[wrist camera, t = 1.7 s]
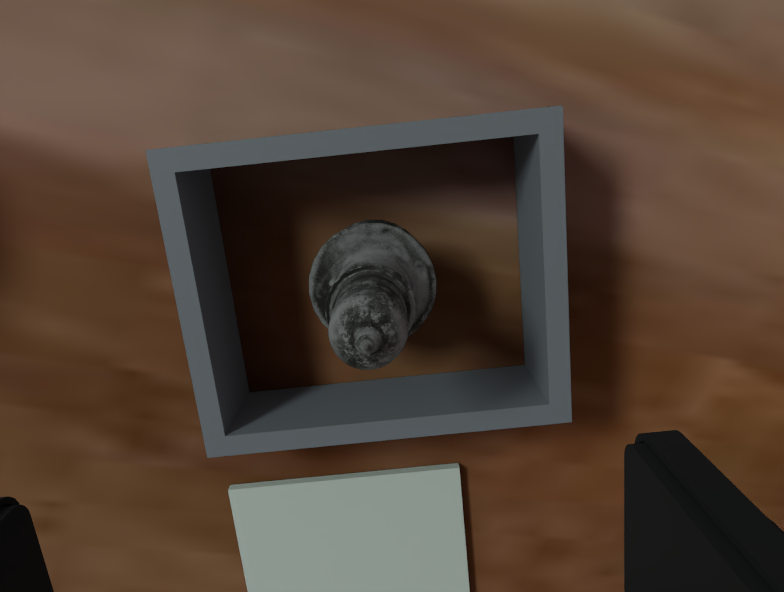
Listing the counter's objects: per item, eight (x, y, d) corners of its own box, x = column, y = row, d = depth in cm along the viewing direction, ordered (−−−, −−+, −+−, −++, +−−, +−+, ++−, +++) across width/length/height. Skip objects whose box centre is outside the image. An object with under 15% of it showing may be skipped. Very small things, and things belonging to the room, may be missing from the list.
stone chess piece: (454, 261, 30) (496, 334, 19) (383, 346, 31) (381, 464, 20) (364, 189, 29) (349, 218, 18) (294, 279, 30) (237, 362, 19)
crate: (532, 112, 28) (562, 105, 24) (543, 380, 32) (571, 422, 27) (186, 149, 29) (145, 150, 24) (234, 410, 32) (207, 457, 27)
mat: (458, 462, 33) (459, 467, 33) (473, 650, 36) (475, 657, 36) (230, 484, 33) (228, 490, 33) (265, 669, 37) (264, 676, 36)
